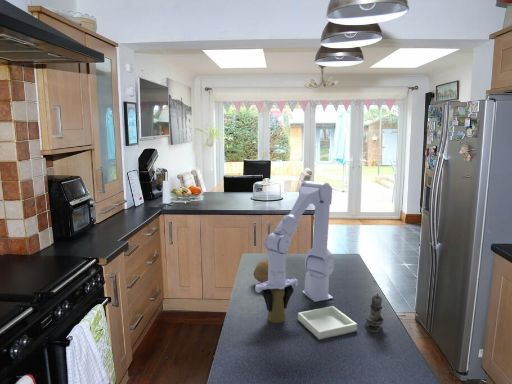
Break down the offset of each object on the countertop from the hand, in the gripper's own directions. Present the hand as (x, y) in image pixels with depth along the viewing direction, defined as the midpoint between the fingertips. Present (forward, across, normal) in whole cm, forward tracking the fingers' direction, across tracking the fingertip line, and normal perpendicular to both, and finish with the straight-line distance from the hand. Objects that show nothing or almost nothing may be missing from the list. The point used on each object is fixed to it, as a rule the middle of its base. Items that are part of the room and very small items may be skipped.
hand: (276, 309), depth 133 cm
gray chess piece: (+3, +26, -17) cm, 31 cm away
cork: (+4, 0, 0) cm, 4 cm away
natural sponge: (+4, +8, +28) cm, 29 cm away
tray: (+3, +13, -10) cm, 17 cm away
